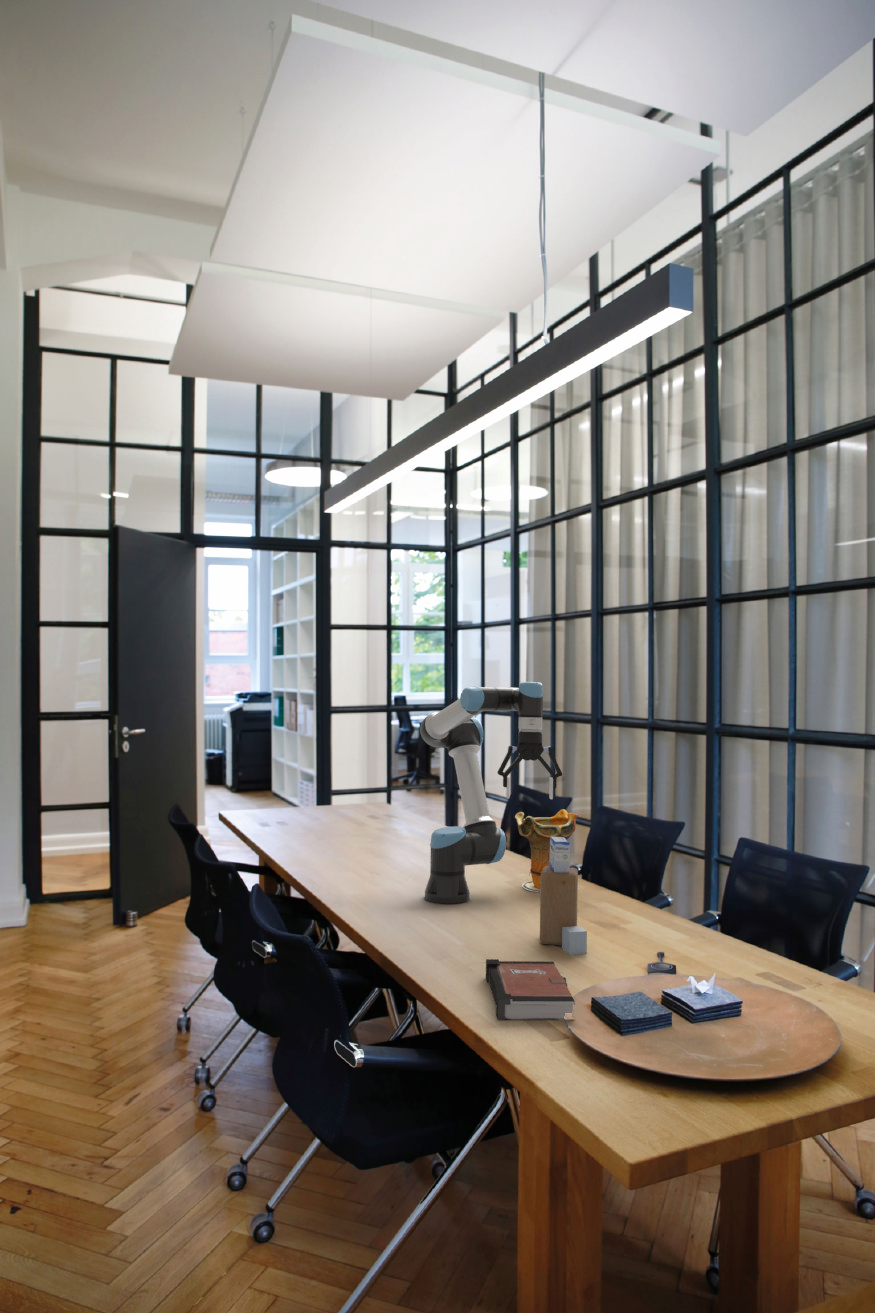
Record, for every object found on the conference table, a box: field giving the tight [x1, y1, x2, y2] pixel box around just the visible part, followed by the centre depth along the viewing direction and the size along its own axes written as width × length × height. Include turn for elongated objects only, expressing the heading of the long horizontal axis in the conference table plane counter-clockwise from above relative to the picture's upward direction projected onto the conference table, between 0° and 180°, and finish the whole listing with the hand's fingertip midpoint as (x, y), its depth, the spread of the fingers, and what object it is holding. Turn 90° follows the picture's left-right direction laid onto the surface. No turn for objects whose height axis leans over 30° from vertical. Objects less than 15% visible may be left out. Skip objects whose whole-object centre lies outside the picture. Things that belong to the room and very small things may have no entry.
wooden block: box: [539, 866, 579, 946], centre depth 240 cm, size 10×10×20 cm
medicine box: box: [549, 837, 571, 873], centre depth 241 cm, size 8×4×9 cm, turn 2°
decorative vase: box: [514, 808, 579, 893], centre depth 303 cm, size 21×23×28 cm
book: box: [485, 958, 576, 1021], centre depth 196 cm, size 26×18×5 cm
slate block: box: [561, 925, 588, 955], centre depth 231 cm, size 5×5×6 cm
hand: (529, 798), depth 266 cm, fingers open, 13 cm apart
